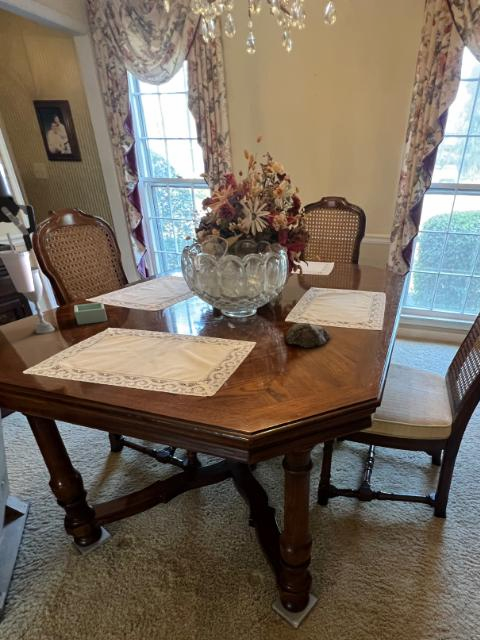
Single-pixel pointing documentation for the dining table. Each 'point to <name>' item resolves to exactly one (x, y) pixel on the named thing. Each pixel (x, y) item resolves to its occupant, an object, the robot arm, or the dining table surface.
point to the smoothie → (18, 268)
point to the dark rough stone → (307, 335)
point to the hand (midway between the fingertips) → (13, 251)
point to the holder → (90, 313)
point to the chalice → (36, 297)
